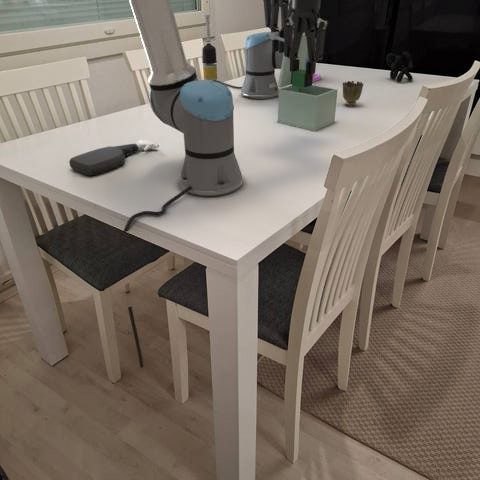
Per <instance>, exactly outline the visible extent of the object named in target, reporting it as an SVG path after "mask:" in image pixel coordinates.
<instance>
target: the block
mask: <svg viewBox="0 0 480 480" xmlns="http://www.w3.org/2000/svg"><path fill="white" fill-rule="evenodd" d="M305 75H306V70H301V69H299V70H296V71H293V74H292V84H291V85H292V86H294V87H301V88H305Z"/></svg>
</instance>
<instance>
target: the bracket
mask: <svg viewBox="0 0 480 480" xmlns="http://www.w3.org/2000/svg"><path fill="white" fill-rule="evenodd" d="M321 79H322V75H321V74H320V73H315V74H313V80H312V83H314V82H317V81H320V80H321Z"/></svg>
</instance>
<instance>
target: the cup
mask: <svg viewBox="0 0 480 480" xmlns="http://www.w3.org/2000/svg"><path fill="white" fill-rule="evenodd" d="M363 88H364V83H363V82H362V81H357V82H354V80H352V81H350V80H347V81H343V82H342V97H343V99H344V100H345V105H346V106H348V107H353V106H355V105H356V104H357V102H358V100H359V99H360V98H361V96H362V92H363Z"/></svg>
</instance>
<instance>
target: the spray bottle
mask: <svg viewBox="0 0 480 480" xmlns="http://www.w3.org/2000/svg"><path fill="white" fill-rule="evenodd" d="M159 148H160V145H159V144H158V143H155V142H151V141H148V140H144V139H139V140H138V141H137V142H135V143H129V144H128V143H126V144H122V145H113V146H105V147H100V148H97V149H94V150H90V151H87V152H83V153H81V154H78V155H74V156H73V157H70V159H69V161H68V162H69V167H70V168H71V169H72V170H74V171H75V172H78V173H81V174H83V175H85V176H89V177H90V176H91V177H92V176H95V175H99V174H102V173H105V172H107V171H110V170H113V169H116V168H118V167H120V166H122V165H123V164H124V163H125V158H126V156H127V155H131V154H133V153H138V151H140V150H143V151H144V152H146V151H147V150H149V149H159Z"/></svg>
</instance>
